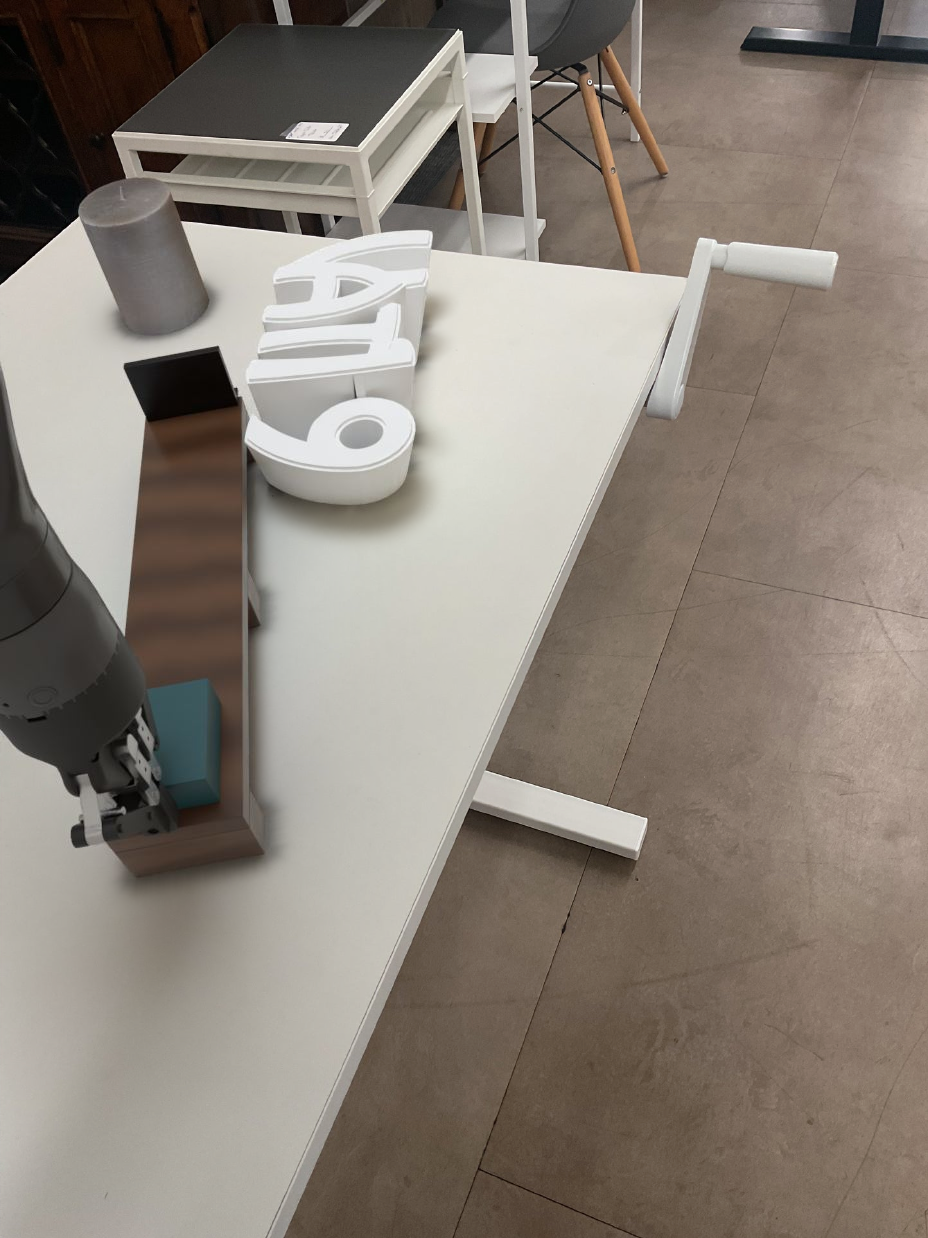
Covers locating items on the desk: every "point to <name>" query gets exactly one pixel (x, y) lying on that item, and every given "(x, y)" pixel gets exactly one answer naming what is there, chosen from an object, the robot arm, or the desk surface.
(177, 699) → the teal rectangular block
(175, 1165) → the desk surface
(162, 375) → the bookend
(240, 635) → the shelf
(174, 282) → the pillar candle
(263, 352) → the white numeral sign
